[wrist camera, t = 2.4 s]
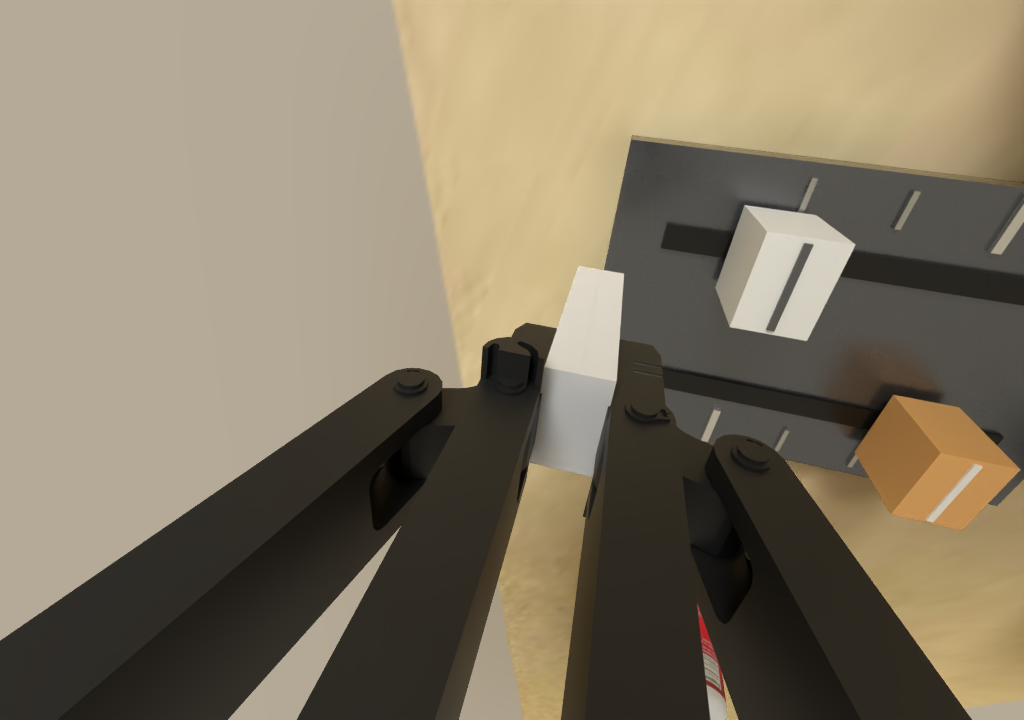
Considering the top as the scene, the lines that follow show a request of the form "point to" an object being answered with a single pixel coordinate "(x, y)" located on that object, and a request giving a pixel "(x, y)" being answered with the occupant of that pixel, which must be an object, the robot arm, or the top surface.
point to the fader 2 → (933, 462)
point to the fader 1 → (780, 271)
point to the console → (849, 309)
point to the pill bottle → (712, 676)
